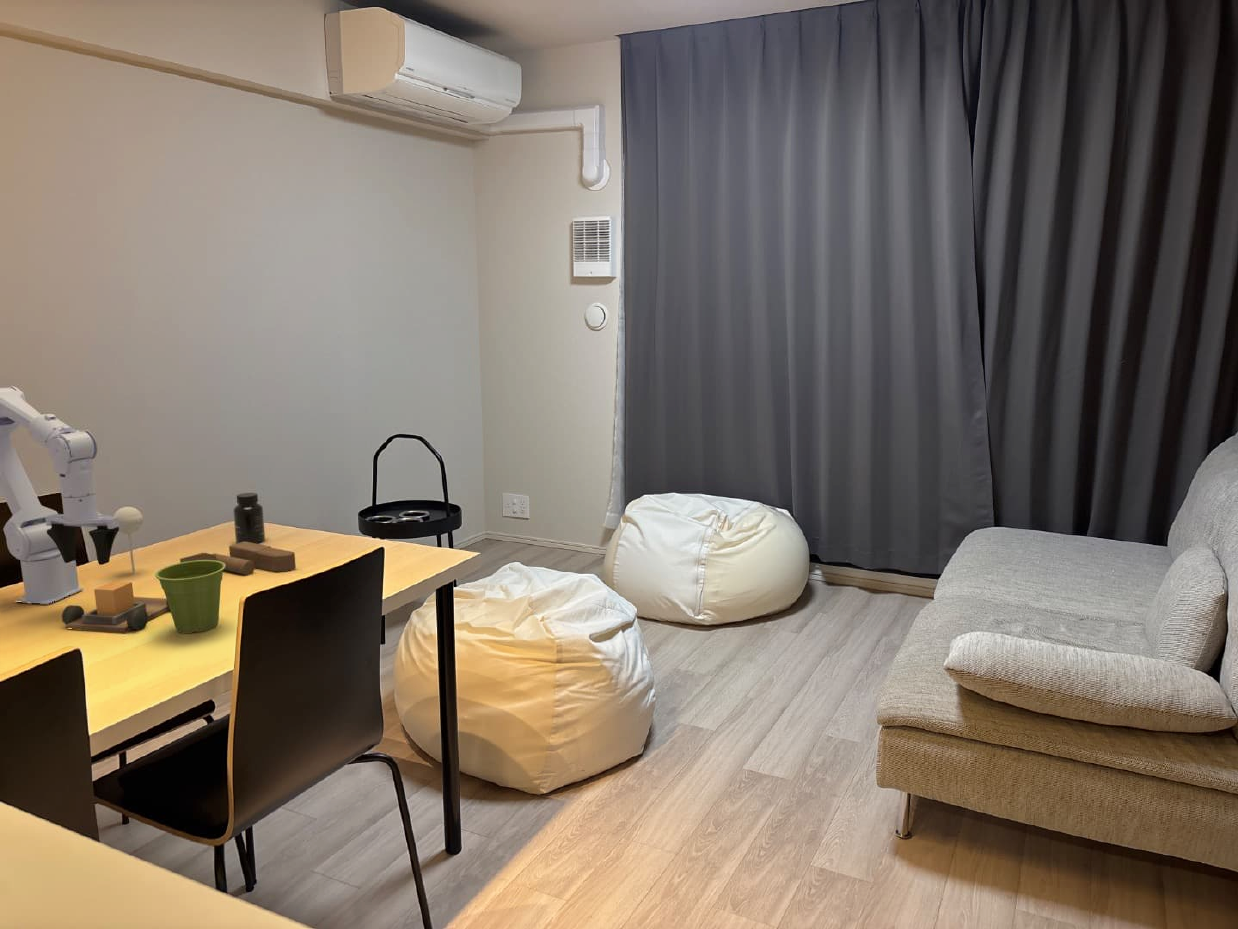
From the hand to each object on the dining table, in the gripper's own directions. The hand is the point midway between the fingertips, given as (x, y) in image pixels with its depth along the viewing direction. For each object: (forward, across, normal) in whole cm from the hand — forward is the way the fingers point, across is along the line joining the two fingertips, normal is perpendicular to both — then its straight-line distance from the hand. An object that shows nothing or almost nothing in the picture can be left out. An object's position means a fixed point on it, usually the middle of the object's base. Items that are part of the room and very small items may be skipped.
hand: (87, 562), depth 180 cm
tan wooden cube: (+8, -10, +6) cm, 14 cm away
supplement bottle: (+10, -3, -50) cm, 51 cm away
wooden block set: (+10, -15, -26) cm, 32 cm away
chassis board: (+9, -10, +3) cm, 14 cm away
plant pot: (+10, -27, +6) cm, 29 cm away
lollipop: (+10, +8, -22) cm, 25 cm away
